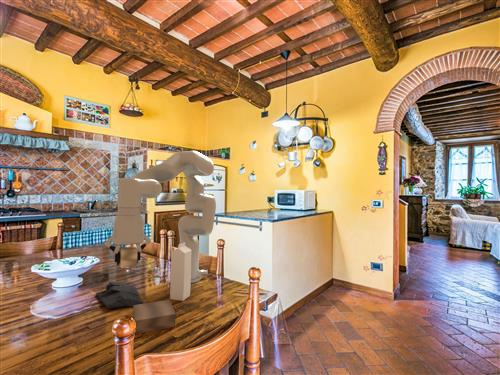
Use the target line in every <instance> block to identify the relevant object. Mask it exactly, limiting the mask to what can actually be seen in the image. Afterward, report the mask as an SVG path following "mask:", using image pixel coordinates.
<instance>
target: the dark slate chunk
mask: <svg viewBox="0 0 500 375" xmlns="http://www.w3.org/2000/svg"><path fill="white" fill-rule="evenodd" d="M96 296H97V298H98V299H99V300H100V302H101V303H102V304H103V305H104V306H105V307H106V308H107V309H110V310H112V309H117V308H126V307H133V305H138V304H144V300H143V299H142V297H141V294H140V293H139V291H138V289H137V288H136V286H134V285H129V284H126V283H124V282H115V281H109V282H107V285H106V288H105V290H102V291H97V292H96Z"/></svg>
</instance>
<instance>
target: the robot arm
mask: <svg viewBox="0 0 500 375" xmlns="http://www.w3.org/2000/svg"><path fill="white" fill-rule="evenodd" d="M214 171H215V165H214V163H213V160H212V159H211V158H209V157H207V156H206V155H204V154H202V153H200V152H198V151H196V150H189V151H188V150H187V151H185V150H183V151H182V150H181V151H176V152H175V153H173V154H172V155H171V156H169V157H168V158H166V159H165V160H164V161H162V162H160V163H159V164H156V165H154V166H151V167H148V168H146V169H144V170H141V171H139V172H136V174H135V175H132V176H131V177H122V178H120V179H119V181H118V192H117V193H118V194H117V195H118V197H117V199H118V200H117V215H116V216H115V217H114V221H113V227H112V228H113V230H112V235H111V236H109V237H108V238H107V239H106V240H105V242H104V243H103V245H104V246H106V247H107V248H108V249H110V250H111V251H112V253H114V263H116V266H119V258H120V248H121V246H127V245H128V246H129V245H135V247H136V248H137V249H138V252H137V264H139V261H141V254H142V253H141V252H142V251H143V250H144V249H145V248H146V247H147V246H148V245H149V244H151V243H152V240H151V238H150V237H148V236H147V235H146V234H145V223H144V217H143V215H142V214H144V213H145V214H146V209H145V208H142V199H154V198H157V197H159V196H160V195H161V193H162V190H163V186H162V183H166V182H170V181H173V180H174V179H176V177H178V176H179V175H180V174H181V173H183V176H184V177H185V178H186V179H185V180H186V182H187V191H186V195H185V203H184V209H185V211H186V212H188V213H191V214H202V215H191V214H189V215H184V216H181V217H180V218H179V219H178V223H177V227H178V228H177V229H178V233H179V244H182V243H184V242H185V243H186V246H187V247H188V248H189V249H191V250H192V253H191V284H192V283H197V282H200V281H201V279H202V275H208V273H209V271H208V269H200V267H199V265H200V264H199V263H200V242H199V239H198V236H202V237H207V236H210V235H211V234H212V232H213V229H214V223H215V218H216V217H215V216H216V210H217V202H216V199H215V197H214V196H213V195H211V194H205V183H204V181H203V180H202V178H201V177H209V176H211V175H212V174H213V173H214ZM144 240H145V242H144ZM111 242H112V243H111ZM115 245H116V246H115Z"/></svg>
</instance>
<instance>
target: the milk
mask: <svg viewBox="0 0 500 375" xmlns="http://www.w3.org/2000/svg"><path fill="white" fill-rule="evenodd" d="M191 253H192V250H191V249H189V248H188V247H187V246H186V243H185V242H184V243H182V244H180V243H179V244H178V245H177V249H175V250H173V251H171V258H170V259H171V262H170V285H169V286H170V287H169V288H170V292H169V295H170V296H169V300H174V301H182V302H184V301H185V300H186V299H187V298H189V297H190V296H191V284H192V283H191Z"/></svg>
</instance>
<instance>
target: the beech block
mask: <svg viewBox="0 0 500 375" xmlns="http://www.w3.org/2000/svg"><path fill="white" fill-rule="evenodd" d="M119 252H120V258H119V265H118V266H119V267H120V268H121V269H126V268H135V267H137V266H138V263H137V252H138V249H137V246H127V247H126V246H125V247H120V248H119Z"/></svg>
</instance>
